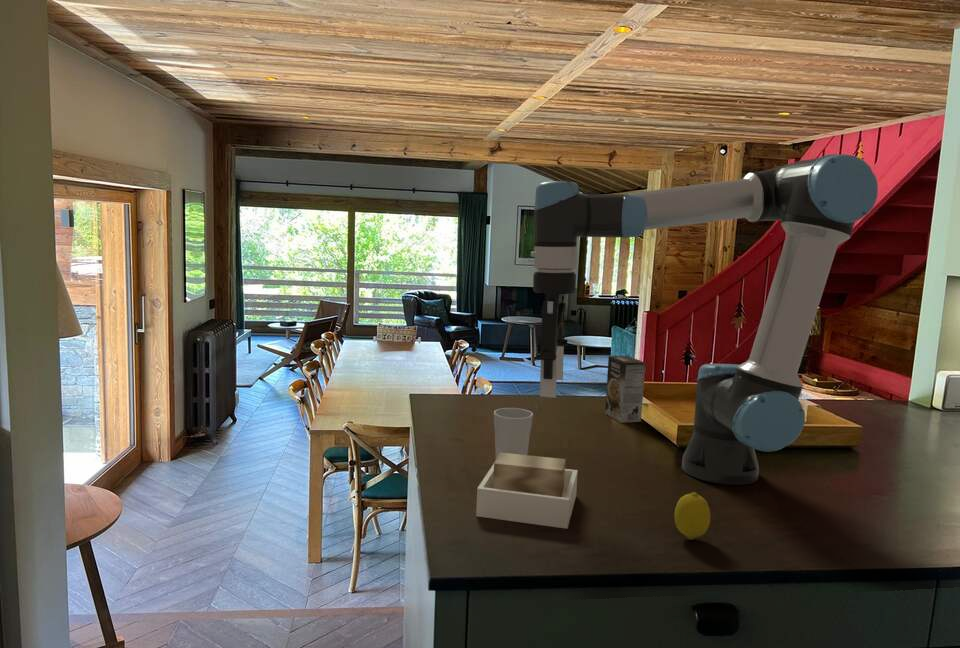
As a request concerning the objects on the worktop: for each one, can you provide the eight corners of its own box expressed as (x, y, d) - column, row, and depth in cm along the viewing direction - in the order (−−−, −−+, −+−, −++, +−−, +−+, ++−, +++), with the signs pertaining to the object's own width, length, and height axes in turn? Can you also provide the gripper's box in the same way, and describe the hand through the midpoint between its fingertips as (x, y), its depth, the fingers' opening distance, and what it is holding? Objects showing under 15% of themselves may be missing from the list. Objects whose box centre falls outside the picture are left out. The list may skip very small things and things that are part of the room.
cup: (527, 478, 134) (530, 420, 133) (488, 474, 136) (490, 416, 134) (532, 465, 142) (535, 409, 140) (495, 461, 144) (497, 406, 142)
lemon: (680, 528, 114) (684, 483, 113) (713, 539, 110) (717, 492, 109) (667, 539, 110) (670, 492, 108) (700, 550, 106) (704, 502, 105)
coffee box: (603, 413, 185) (607, 355, 182) (624, 412, 187) (628, 355, 184) (620, 423, 176) (624, 362, 174) (642, 421, 178) (646, 361, 176)
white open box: (576, 495, 126) (577, 470, 126) (567, 528, 112) (569, 500, 112) (494, 485, 130) (495, 460, 129) (476, 516, 116) (477, 488, 115)
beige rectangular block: (492, 490, 119) (494, 463, 118) (498, 478, 125) (499, 452, 124) (561, 498, 116) (562, 470, 116) (564, 485, 122) (565, 459, 122)
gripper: (541, 266, 133) (539, 372, 136) (523, 275, 109) (521, 403, 112) (580, 267, 131) (577, 374, 134) (570, 276, 107) (567, 406, 110)
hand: (552, 387), depth 123 cm, fingers open, 13 cm apart
